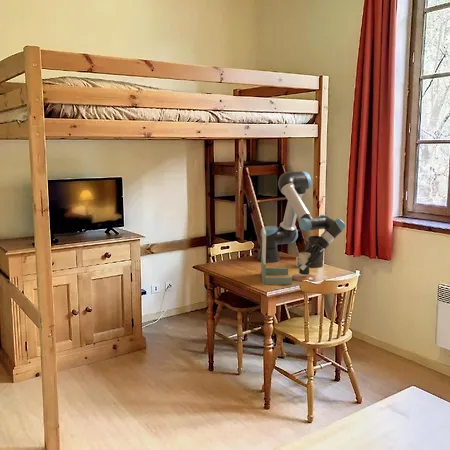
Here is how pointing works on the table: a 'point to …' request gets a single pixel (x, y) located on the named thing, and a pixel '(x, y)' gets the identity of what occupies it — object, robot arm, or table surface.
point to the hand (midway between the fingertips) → (299, 267)
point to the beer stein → (318, 261)
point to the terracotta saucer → (304, 277)
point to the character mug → (302, 258)
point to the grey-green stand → (272, 271)
